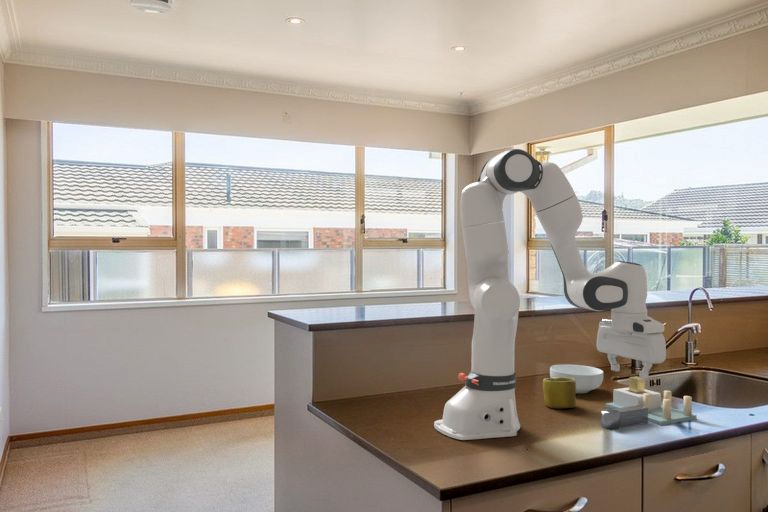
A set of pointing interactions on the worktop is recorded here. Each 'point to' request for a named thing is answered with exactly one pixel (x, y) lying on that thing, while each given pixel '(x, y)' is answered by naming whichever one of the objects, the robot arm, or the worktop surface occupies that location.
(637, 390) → the wooden bar
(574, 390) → the mug
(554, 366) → the cereal bowl
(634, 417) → the grey lever handle
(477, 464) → the worktop surface
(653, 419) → the jig plate
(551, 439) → the worktop surface
